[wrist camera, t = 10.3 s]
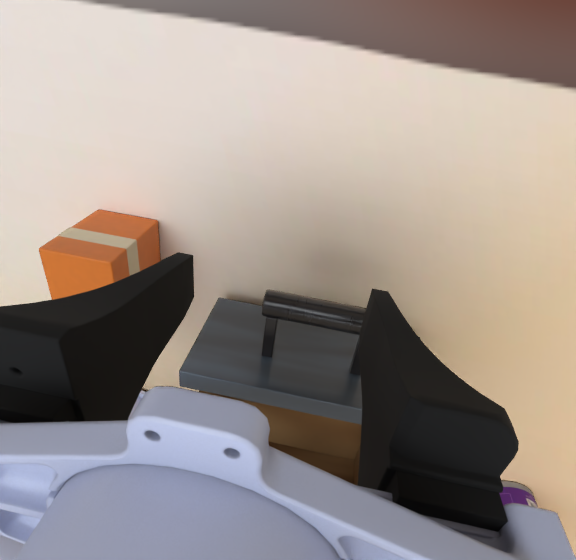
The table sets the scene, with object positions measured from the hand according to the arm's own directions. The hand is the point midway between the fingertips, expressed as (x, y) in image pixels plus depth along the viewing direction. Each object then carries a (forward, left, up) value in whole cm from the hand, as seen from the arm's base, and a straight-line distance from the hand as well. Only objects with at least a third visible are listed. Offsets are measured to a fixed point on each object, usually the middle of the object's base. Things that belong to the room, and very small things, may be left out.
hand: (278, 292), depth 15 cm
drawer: (+5, -10, -8) cm, 14 cm away
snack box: (-9, -8, -9) cm, 15 cm away
